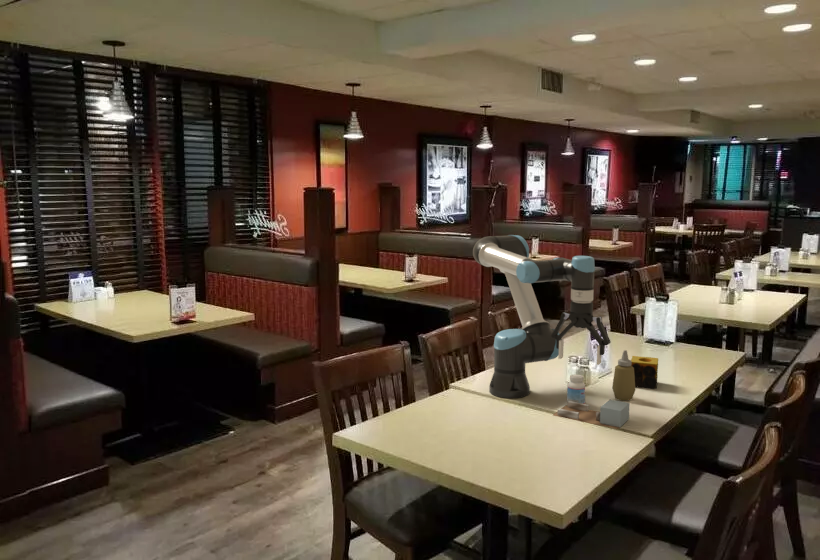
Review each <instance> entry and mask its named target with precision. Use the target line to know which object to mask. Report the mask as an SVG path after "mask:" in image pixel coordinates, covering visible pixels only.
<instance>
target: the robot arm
mask: <svg viewBox="0 0 820 560" xmlns="http://www.w3.org/2000/svg"><path fill="white" fill-rule="evenodd" d="M472 256H473V258H474V260H475V262H476V263H478V264H479V265H481V266H484V267H486V268H491V267H493V268H495V269H498V270H499V271H500V273H503V274H504V275H505V277H506V278H505V279H506V281H507V284H508V286H509V290H510V293H511V296H512V299H513V302H514V305H515V306H514V307H515V309H516V311H517V314H518V317H519V320H520V324H521V326H522V327H521V328H508V329H503V330H501V331H500V330H499V332H497V333H496V334H495V336H494V342H493V348H494V350H493V352H494V354H493V355H494V356H493V357H494V359H493V365H494V367H493V368H494V369H493V374H492V377H491V380H490V383H489V393H490V394H491V395H494V396H496V397H500V398H509V399H516V398H517V399H518V398H524V397H527V396H529V394H530V392H531V389H530V388H531V387H530V384H529V381H528V377H527V373H526V364H529V363H531V364H532V363H537V362H547V361H551V360H554V359H556V358H558V359H559V360H561V359H562V358H564V343H565V342H564V341H565V340H564V339H563V337H564V336H565V335H567V333H568V332H569V331H570V330H572V328H573V327H575V328H581V329H587V331H588V332H589V333H590V334H591V335H592V337H593V338H594V340H595V341H596V342H597V344H598V345H597V347H596V348H597V349H596V351H597V352H596V365H597V366H598V365H601V364H602V356H604V355H605V348H606V346H608V345H610V344H611V343H612V342H611V339H610V336H609V334H608V333H607V330H606V328H605V326H604V323H603V317H602V316H601V315H600V316H594V315H593V312H594V302H593V301H594V293H595V292H594V286H595V285H594V284H595V271H596V268H595V267H596V266H595V258H594V257H593V256H590V255H589V256H588V255H574V256H572V259H569V258H564V257H554V258H553V259H544V260H543V259H542V260H535V259H532V258H529V257H530V247H529V245H528V242H527V241H526V239H525V238H524V237H523V236H521V235H518V234H517V235H516V234H515V235H514V234H508V235H494V236H493V235H492V236H490V235H489V236H484V237H482V238H480V239H478V241H476V243H475V244H474V246H473V249H472ZM554 281H555V282H557V281H567V282H571V283H570V300H571V301H570V305H569V306H570V308H569V309H570V311H569V312H570V313H567V312H565V311H564V312H562V313H561V315H560V318H559V320H558V323H557V324H556V326H555V328H552V327H551V325H550V322H549V321H548V320H547V321H546V320H545V319H544V317H543V314H542V311H541V308H540V305H539V302H538V300H537V296H536V294H535V291H534V288H533V286H532V284H534V283H545V282H554ZM567 319H569V321H570V323H569V324H567V326H566V327H565V328H564V329H563V330H561V329H562V327H563V325H564V323H565V322H566V320H567ZM593 321H594V323H595V324H596V326H597V329H598V330H596V328H595V326H594V324H593ZM560 330H561V332H560ZM598 331H599V332H598ZM599 333H600V334H599Z"/></svg>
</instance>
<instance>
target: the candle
mask: <svg viewBox="0 0 820 560" xmlns="http://www.w3.org/2000/svg"><path fill="white" fill-rule="evenodd" d="M630 360H631V361H632V364H631V366H632V367H634V376H635V388H640V389H649V390H657V387H658V369H659V357H650V356H640V355H639V356H638V355H637V356H636V355H632V356H631V359H630Z"/></svg>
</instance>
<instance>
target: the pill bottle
mask: <svg viewBox="0 0 820 560" xmlns="http://www.w3.org/2000/svg"><path fill="white" fill-rule="evenodd" d="M566 391H567V393H566V404H568V402H569V401H572V402H577V403H582V404H586V384H585V382H584V375H582V374H570V375H569V381H568V382H567V390H566Z"/></svg>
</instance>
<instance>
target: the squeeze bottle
mask: <svg viewBox="0 0 820 560" xmlns="http://www.w3.org/2000/svg"><path fill="white" fill-rule="evenodd" d="M631 364H632V361H631V359H629V355H628V350H626V349H624V350H623V352H622V356H621V358H619V359H618V360H617V365H616V366H615V367H614V374H613V382H612V387H611V388H612V391H613V396H614V398H615V399H616V400H617V401H622V402H629V401H632V400H633V397H634V396H635V392H636V387H635V376H634V367H632V366H631Z"/></svg>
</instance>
